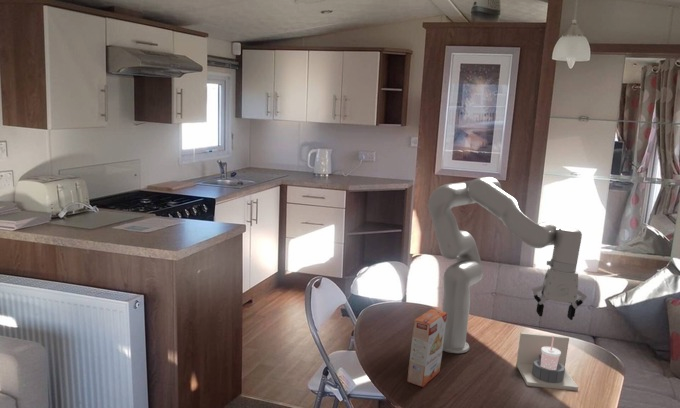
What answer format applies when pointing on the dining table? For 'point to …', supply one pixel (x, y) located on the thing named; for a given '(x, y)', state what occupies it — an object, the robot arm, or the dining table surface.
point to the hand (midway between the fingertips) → (554, 316)
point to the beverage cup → (550, 357)
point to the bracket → (532, 362)
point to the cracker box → (426, 347)
